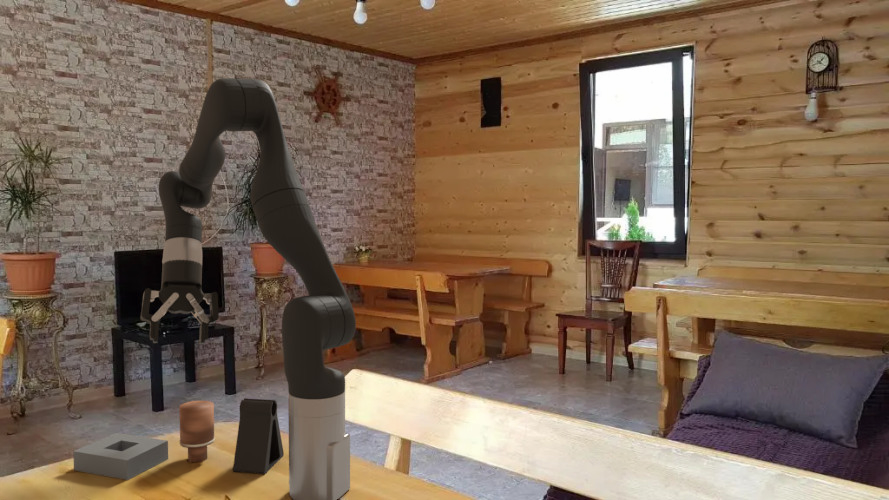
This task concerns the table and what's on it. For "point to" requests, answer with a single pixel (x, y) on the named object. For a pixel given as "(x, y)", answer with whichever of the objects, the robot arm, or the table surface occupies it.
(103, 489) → the table surface
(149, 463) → the board
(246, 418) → the phone stand
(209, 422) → the peg
